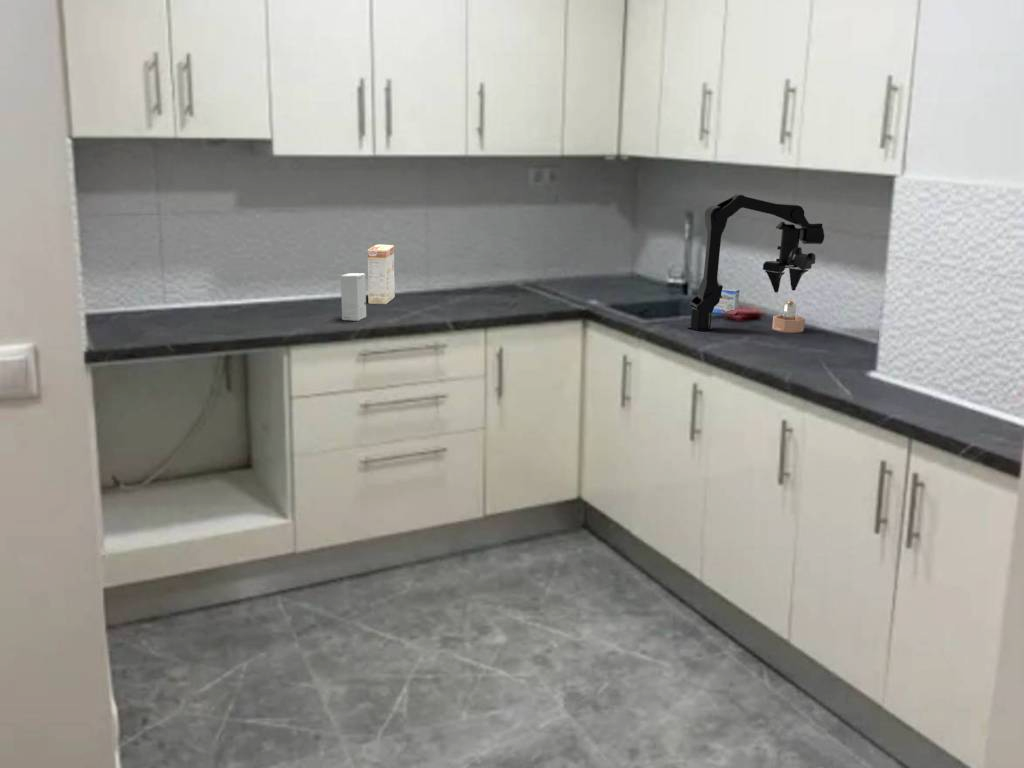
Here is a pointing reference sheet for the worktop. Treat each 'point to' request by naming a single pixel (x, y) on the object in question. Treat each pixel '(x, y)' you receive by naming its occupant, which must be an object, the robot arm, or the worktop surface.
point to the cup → (788, 324)
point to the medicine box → (727, 301)
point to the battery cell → (789, 311)
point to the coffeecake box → (381, 274)
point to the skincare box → (353, 296)
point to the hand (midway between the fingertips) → (784, 291)
